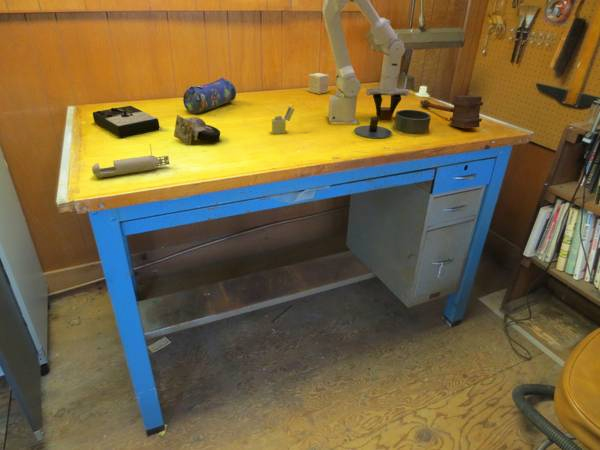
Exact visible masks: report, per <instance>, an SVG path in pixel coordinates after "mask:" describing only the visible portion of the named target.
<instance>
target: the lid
mask: <svg viewBox="0 0 600 450" xmlns="http://www.w3.org/2000/svg"><path fill="white" fill-rule="evenodd" d="M378 123H379V118H378V117H370V120H369V124H368V125H367V124H366V125H359V126H356V127H355V128H354V129H353V132H354V134H355V135H357V136H359V137H361V138H366V139H371V140H382V139H387V138H390V137H391V136H392V133H393V132H392V130H390V129H388V128H387V127H384V126H379V124H378Z"/></svg>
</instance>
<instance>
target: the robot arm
mask: <svg viewBox="0 0 600 450" xmlns="http://www.w3.org/2000/svg"><path fill="white" fill-rule="evenodd" d="M348 3H351V4H352V5H353V4H354V5H355V6H356V7H357V8H358V10H359V11H360V13H361V14H362V15H363V16H364V18H365V19H366V20H367V21H368V23H369V24H370V31H369V32H370V33H371V34H372V35H373V37H374V38H375V40H376V41H377V43H378V44H379V45H380V47H381V51H382V53H384V54H383V59H382V67H381V73H380V81H379V87H373V88H371V87H370V88H366V90H365V95H366V96H372V98H373V101H374V105H375V113H376V118H378V117H379V116H380V108H381V107H382V103H383V98H382V96H390V106H389V108H390V109H391V110H392V115H391V118H393V115H394V113H395V110H396V109H397V107H398V106H399V103H400V102H401V101H402V97H403V96H404V97H409V93H410V90H409V89H407V88H398V87H397V86H398V79H399V74H400V69H401V61H402V57H403V56H404V54H405V53H406V47H405V42H404V41H403V40H402V39H400V38H399V34H398V32H395V30H394V29H393V28H392V26H391V21H390V20H389V19H386V18H385V17H380V16H379V14H378V12H377V11H376V9H375V8H374V6H373V4H372V3H371V1H370V0H324V1H323V5H322V9H321V13H322V17H323V21H324V25H325V31H326V34H327V37H328V41H329V45H330V50H331V53H332V58H333V61H334V66H335V71H334V72H335V73H334V74H335V81H334V83H335V87H336V89H337V90H336V92H335V94H331V95H329V99H328V109H327V111H328V112H327V118H328V121H329V123H331V124H358V121H357V119H356V113H357V104H358V96H359V95H358V94H359V93H360V92H361V88H362V85H361V82H360V80H359V78H357V75H356V72H355V69H354V67H353V65H352V62H351V58H350V54H349V49H348V45H347V39H346V36H345V32H344V28H343V27H344V26H343V22H342V19H341V13H342V11H343V10H344V8H345V6H346V5H347V4H348Z"/></svg>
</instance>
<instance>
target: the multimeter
mask: <svg viewBox="0 0 600 450" xmlns="http://www.w3.org/2000/svg"><path fill="white" fill-rule="evenodd" d="M92 118H93V121H94V123H95V124H96V125H98V126H99V127H101V128H102V129H105V130H106V131H108V132H109V133H111V134H113V135H114V136H117V137H118V138H120V139H121V138H122V139H123V138H127V137H131V136H135V135H141V134H146V133H149V132H153V131H158V130H159V129H160V123H159V122H160V121H159V119H158V118H157V117H155V116H154V115H151V114H150V113H147V112H146V111H143V110H141V109H139V108H137V107H135V106H133V105H125V106H120V107H111V108H108V109H104V110H96V111H93V112H92Z"/></svg>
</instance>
